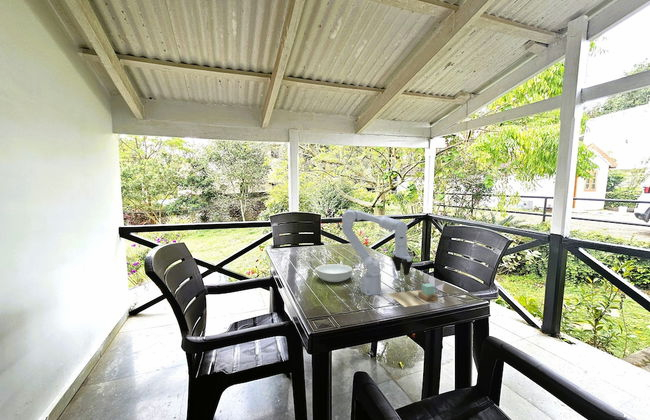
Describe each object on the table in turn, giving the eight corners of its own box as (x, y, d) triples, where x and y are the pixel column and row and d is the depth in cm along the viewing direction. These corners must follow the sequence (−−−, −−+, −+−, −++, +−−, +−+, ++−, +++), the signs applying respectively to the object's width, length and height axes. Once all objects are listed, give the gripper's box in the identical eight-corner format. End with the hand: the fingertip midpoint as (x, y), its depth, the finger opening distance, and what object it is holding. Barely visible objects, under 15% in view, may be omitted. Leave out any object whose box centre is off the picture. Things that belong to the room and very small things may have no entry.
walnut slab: (426, 301, 123) (426, 296, 123) (418, 297, 129) (418, 291, 129) (437, 300, 125) (437, 295, 125) (429, 295, 130) (429, 290, 130)
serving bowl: (357, 277, 162) (357, 265, 162) (343, 288, 144) (343, 275, 143) (326, 272, 172) (326, 261, 172) (309, 282, 154) (309, 270, 153)
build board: (404, 308, 118) (404, 306, 118) (387, 294, 134) (387, 293, 134) (444, 302, 123) (444, 301, 123) (422, 290, 139) (422, 289, 139)
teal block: (426, 295, 124) (426, 286, 124) (421, 292, 128) (421, 284, 128) (434, 294, 125) (434, 286, 125) (428, 291, 129) (429, 283, 129)
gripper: (416, 247, 128) (417, 275, 129) (400, 242, 142) (401, 268, 143) (403, 248, 126) (404, 277, 127) (388, 243, 140) (389, 269, 141)
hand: (402, 272), depth 135 cm, fingers open, 7 cm apart
